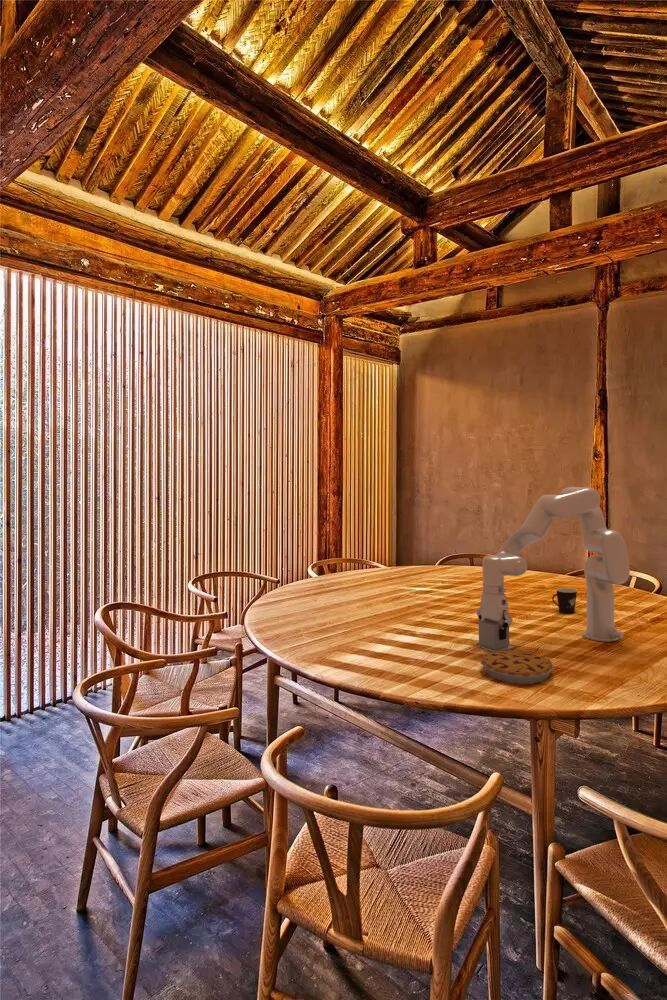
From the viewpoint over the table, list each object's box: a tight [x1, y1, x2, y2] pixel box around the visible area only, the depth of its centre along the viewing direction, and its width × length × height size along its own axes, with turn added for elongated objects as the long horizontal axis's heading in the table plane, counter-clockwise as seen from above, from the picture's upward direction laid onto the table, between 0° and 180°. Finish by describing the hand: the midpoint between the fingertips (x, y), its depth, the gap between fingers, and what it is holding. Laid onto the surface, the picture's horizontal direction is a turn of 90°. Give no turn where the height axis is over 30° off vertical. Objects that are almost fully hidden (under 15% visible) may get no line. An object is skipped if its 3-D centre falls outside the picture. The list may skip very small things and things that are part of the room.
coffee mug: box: [551, 587, 578, 615], centre depth 244 cm, size 12×9×10 cm
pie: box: [480, 649, 554, 685], centre depth 173 cm, size 22×22×5 cm
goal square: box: [474, 643, 515, 653], centre depth 200 cm, size 10×10×1 cm
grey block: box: [477, 619, 511, 650], centre depth 199 cm, size 8×8×9 cm
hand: (493, 636), depth 199 cm, fingers closed on grey block, 7 cm apart
